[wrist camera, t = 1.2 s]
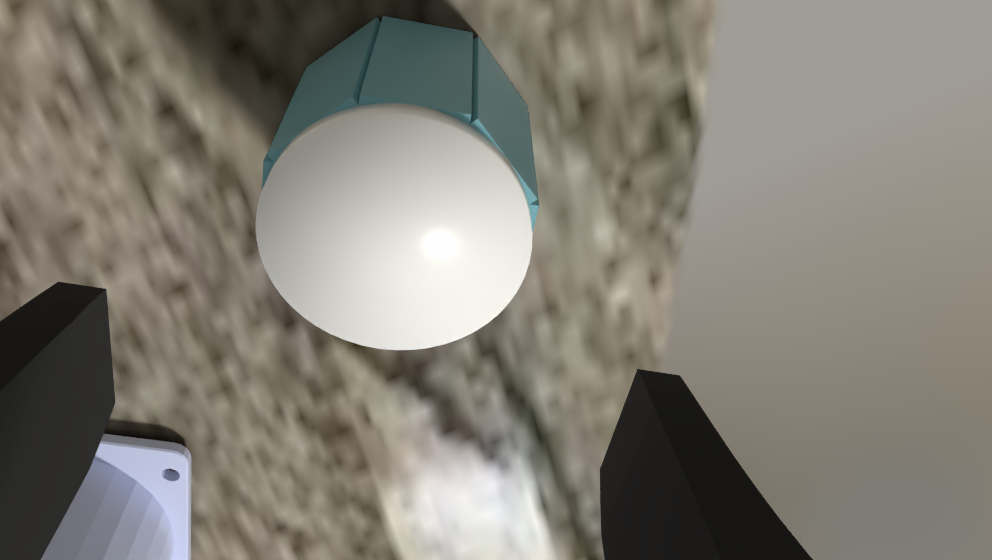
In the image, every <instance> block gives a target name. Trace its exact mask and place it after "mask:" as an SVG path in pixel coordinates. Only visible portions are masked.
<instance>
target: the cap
mask: <svg viewBox="0 0 992 560" xmlns="http://www.w3.org/2000/svg"><path fill="white" fill-rule="evenodd" d="M538 208H539V201H538V192H537V183H536V174H535V165H534V156H533V147H532V138H531V129H530V120H529V111H528V107H527V105H526V103H525V102H524V100H523V99H522V97H521V96H520V95H519V93H518V92H517V90H516V89H515V87H514V86H513V85H512V83H511V82H510V80H509V79H508V77H507V76H506V75H505V73H504V72H503V70H502V69H501V67H500V66H499V65H498V63H497V62H496V60H495V59H494V57H493V56H492V55H491V53H490V52H489V50H488V49H487V47H486V46H485V45H484V43H483V42H482V40H481V39H480V37H479V36H478V37H476V38H475V39H473V32H468V31H462V30H457V29H451V28H446V27H441V26H435V25H430V24H425V23H419V22H414V21H408V20H403V19H398V18H392V17H387V16H383V17H382V21H381V22H380V21H379V19H378V18H377V17H376V18H375V19H373V20H372V21H371V22H369V23H368V24H366V25H365V26H364V27H362V28H361V29H359V30H358V31H357V32H355V33H354V34H352V35H351V36H349V37H348V38H347V39H345V40H344V41H342V42H341V43H340V44H338V45H337V46H335V47H334V48H333V49H331V50H330V51H328V52H327V53H326V54H324V55H323V56H321V57H320V58H319V59H317V60H316V61H314V62H313V63H312V64H310V65H309V66H307V68H306V70H305V72H304V73H303V75H302V77H301V80H300V82H299V84H298V86H297V88H296V91H295V93H294V95H293V97H292V99H291V102H290V104H289V106H288V108H287V110H286V113H285V115H284V117H283V119H282V121H281V124H280V126H279V128H278V130H277V133H276V135H275V137H274V139H273V141H272V144H271V146H270V148H269V150H268V152H267V155H266V157H265V159H264V165H263V183H262V192H261V196H260V199H259V202H258V207H257V214H256V238H257V244H258V249H259V253H260V256H261V259H262V262H263V265H264V268H265V269H266V271H267V273H268V275H269V277H270V279H271V281H272V283H273V284H274V286H275V287H276V289H277V290H278V291H279V293H280V294H281V295H282V296H283V298H284V299H285V300H286V301H287V302H288V303H289V304H290V306H292V307H293V308H294V309H295V310H296V311H297V312H298V313H299V314H301V315H302V316H303V317H304V318H306V319H307V320H308V321H310V322H311V323H313V324H314V325H316V326H317V327H319V328H321V329H323V330H324V331H326V332H328V333H330V334H332V335H334V336H337V337H339V338H341V339H344V340H346V341H349V342H353V343H356V344H359V345H363V346H368V347H373V348H378V349H389V350H415V349H424V348H430V347H435V346H439V345H444V344H447V343H449V342H452V341H455V340H458V339H461V338H463V337H465V336H467V335H469V334H471V333H473V332H475V331H476V330H478V329H480V328H481V327H483V326H484V325H486V324H487V323H488V322H490V321H491V320H492V319H493V318H495V317H496V316H497V315H498V314H499V313H500V312H501V311H502V310H503V309H504V308H505V307H506V306H507V305H508V304H509V302H510V301H511V299H512V298H513V297H514V295H515V294H516V292H517V291H518V289H519V287H520V285H521V283H522V281H523V279H524V277H525V274H526V271H527V268H528V265H529V262H530V256H531V250H532V232H533V228H534V224H535V220H536V216H537V212H538Z"/></svg>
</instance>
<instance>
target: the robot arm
mask: <svg viewBox="0 0 992 560" xmlns="http://www.w3.org/2000/svg"><path fill="white" fill-rule="evenodd" d="M114 404H115V393H114V381H113V368H112V356H111V343H110V331H109V318H108V306H107V293H106V289H103V288H96V287H89V286H83V285H76V284H70V283H63V282H57V283H56V284H54V285H53V286H51V287H50V288H48V289H47V290H45V291H44V292H42V293H41V294H39V295H38V296H36V297H35V298H33V299H32V300H30V301H29V302H28V303H26V304H25V305H23V306H22V307H20V308H19V309H17V310H16V311H15V312H13V313H12V314H10V315H9V316H7V317H6V318H4V319H3V320H2V321H0V560H191V454H190V452H189V450H188V449H187V448H186V447H184V446H183V445H181V444H178V443H174V442H166V441H158V440H150V439H142V438H134V437H126V436H118V435H110V434H104V431H105V429H106V426H107V423H108V421H109V418H110V415H111V413H112V410H113V407H114ZM169 469H173V470H176V471H172V470H169ZM600 503H601V534H602V543H603V550H604V557H605V560H813V559H812V558H811V557H810V556H809V555H808V554H807V552H806V551H805V550H804V549H803V547H802V546H801V545H800V544H799V542H798V541H797V540H796V539H795V537H794V536H793V535H792V534H791V532H790V531H789V530H788V529H787V528H786V526H785V525H784V524H783V522H782V521H781V520H780V519H779V517H778V516H777V515H776V513H775V512H774V511H773V509H772V508H771V507H770V506H769V504H768V503H767V502H766V500H765V499H764V498H763V496H762V495H761V493H760V492H759V491H758V490H757V488H756V487H755V485H754V484H753V483H752V481H751V480H750V478H749V477H748V476H747V474H746V473H745V471H744V470H743V469H742V467H741V466H740V464H739V463H738V461H737V460H736V459H735V457H734V456H733V454H732V453H731V451H730V450H729V448H728V447H727V446H726V444H725V442H724V441H723V439H722V438H721V437H720V435H719V433H718V432H717V431H716V429H715V428H714V426H713V425H712V423H711V422H710V420H709V419H708V417H707V416H706V414H705V413H704V411H703V409H702V408H701V407H700V405H699V403H698V402H697V400H696V399H695V397H694V396H693V395H692V393H691V391H690V390H689V388H688V387H687V385H686V384H685V383H684V381H683V380H682V378H681V377H680V376H679V375H672V374H666V373H660V372H653V371H646V370H640V369H637V372H636V375H635V377H634V380H633V383H632V385H631V388H630V391H629V394H628V396H627V399H626V402H625V404H624V407H623V410H622V412H621V415H620V418H619V420H618V423H617V426H616V428H615V431H614V434H613V436H612V439H611V442H610V444H609V447H608V450H607V452H606V455H605V458H604V460H603V463H602V466H601V468H600Z"/></svg>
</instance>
